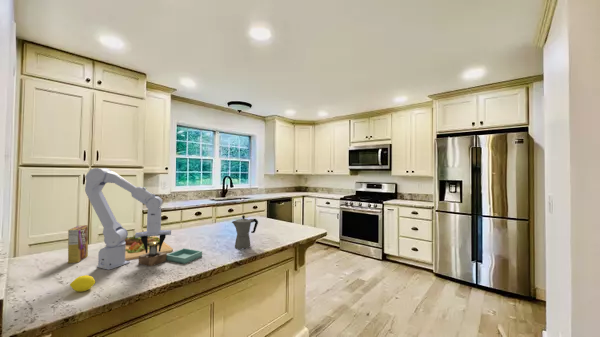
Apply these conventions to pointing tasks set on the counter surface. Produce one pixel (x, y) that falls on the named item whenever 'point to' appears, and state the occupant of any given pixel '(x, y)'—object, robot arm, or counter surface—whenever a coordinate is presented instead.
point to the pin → (153, 248)
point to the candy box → (77, 243)
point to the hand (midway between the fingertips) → (153, 251)
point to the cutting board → (142, 247)
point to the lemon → (82, 283)
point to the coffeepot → (243, 232)
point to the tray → (184, 255)
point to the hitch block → (152, 259)
